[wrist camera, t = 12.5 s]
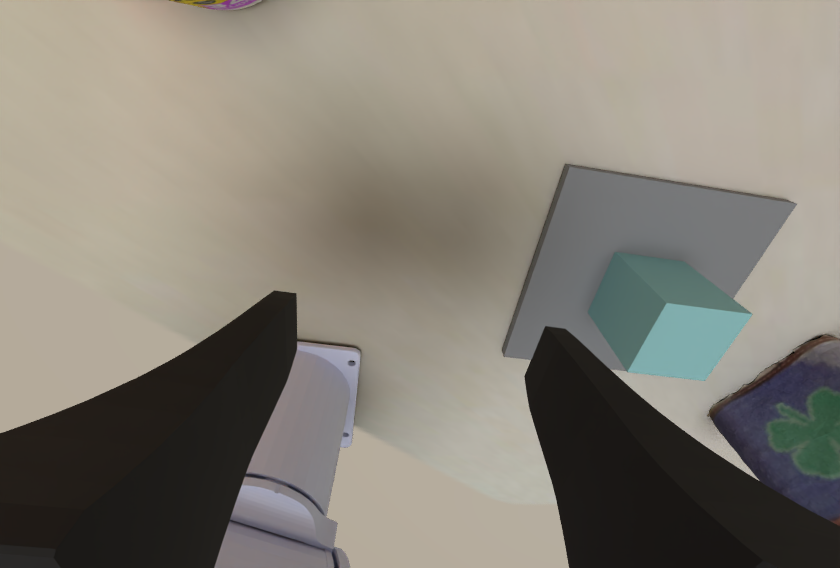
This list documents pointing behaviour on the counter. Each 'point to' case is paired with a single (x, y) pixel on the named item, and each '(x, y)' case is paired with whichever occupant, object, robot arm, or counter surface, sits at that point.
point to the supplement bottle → (220, 3)
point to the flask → (791, 426)
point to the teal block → (665, 317)
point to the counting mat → (633, 246)
